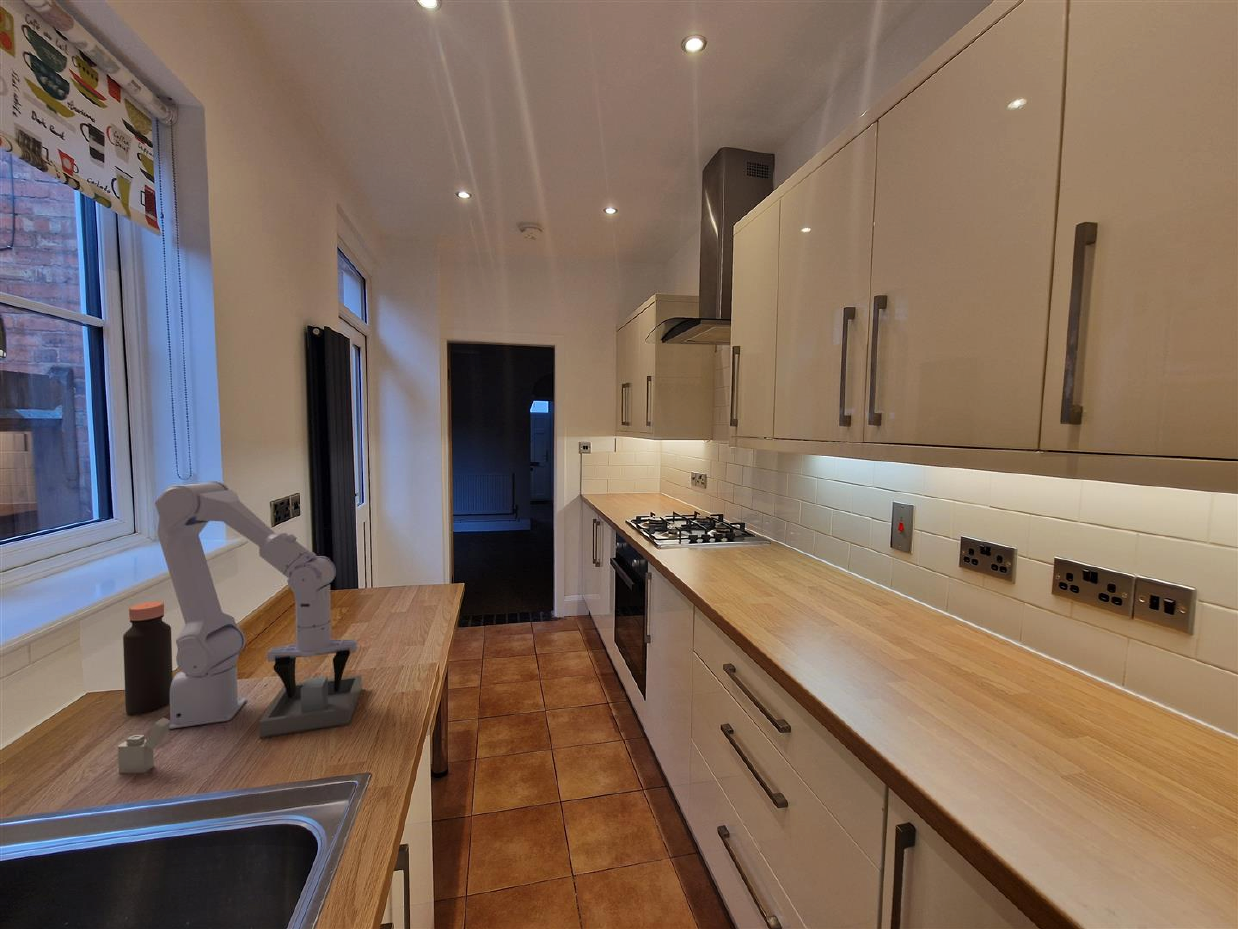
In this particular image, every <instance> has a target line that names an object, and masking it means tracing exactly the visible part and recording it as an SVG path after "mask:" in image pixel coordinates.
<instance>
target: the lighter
mask: <svg viewBox="0 0 1238 929" xmlns="http://www.w3.org/2000/svg"><path fill="white" fill-rule="evenodd" d="M171 722H172V721H170V719H167V718H166V717H162V718H160V719H158V720H156V722H154V723H153V725H152V728H151V730H150V732H149V734H148V736H147V738H146V739H145V735H143V734H134V735H131V736H129V737H127V738H126V740H125V741H123V742H122V743H120V744H118V745H117V755H118V757H117V760H118V774H145V773H147V772H148V771H150V770H151V769H153V768H154V767H155V766H154V765H155V761H154V759H155V758H154V749H155V748H157V747H158V746H159V745H160V744H162V743H163V741H164V739H165V736H167V735H166V734H167V732H168V730H169V726H170V724H171Z"/></svg>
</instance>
